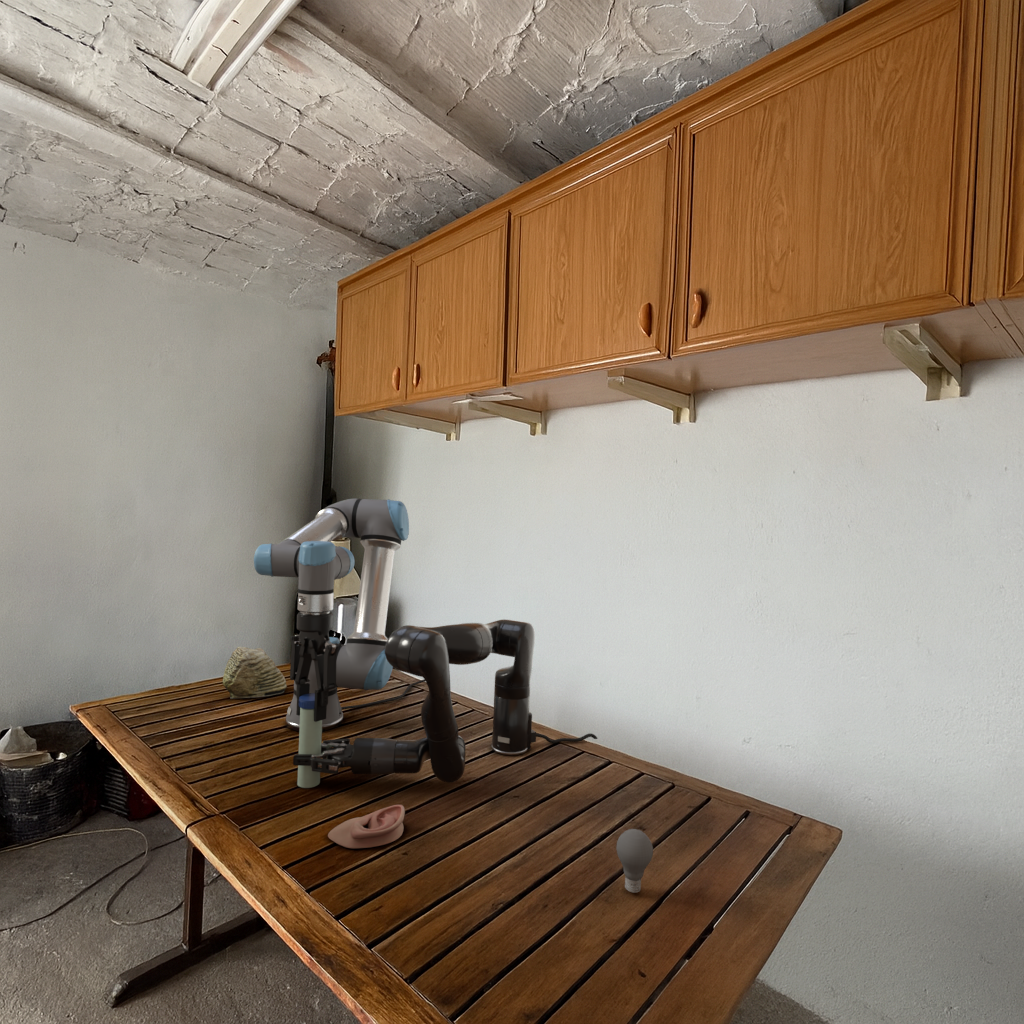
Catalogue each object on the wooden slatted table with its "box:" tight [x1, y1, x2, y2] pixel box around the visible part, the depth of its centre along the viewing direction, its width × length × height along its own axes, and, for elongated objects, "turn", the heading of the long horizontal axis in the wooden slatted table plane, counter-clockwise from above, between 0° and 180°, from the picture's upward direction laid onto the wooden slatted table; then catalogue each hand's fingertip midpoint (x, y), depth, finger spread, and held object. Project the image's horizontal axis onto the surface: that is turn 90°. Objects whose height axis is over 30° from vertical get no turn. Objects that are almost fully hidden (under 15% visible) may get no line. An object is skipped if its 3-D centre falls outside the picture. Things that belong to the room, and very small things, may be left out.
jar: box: [296, 707, 323, 789], centre depth 140 cm, size 5×5×19 cm
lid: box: [299, 693, 315, 709], centre depth 139 cm, size 5×6×2 cm
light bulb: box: [615, 828, 654, 894], centre depth 106 cm, size 6×6×10 cm
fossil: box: [222, 646, 288, 699], centre depth 198 cm, size 9×18×15 cm, turn 132°
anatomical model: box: [327, 804, 406, 849], centre depth 120 cm, size 13×4×12 cm
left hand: (311, 716), depth 140 cm, fingers closed on lid, 5 cm apart
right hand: (297, 754), depth 139 cm, fingers closed on jar, 4 cm apart
